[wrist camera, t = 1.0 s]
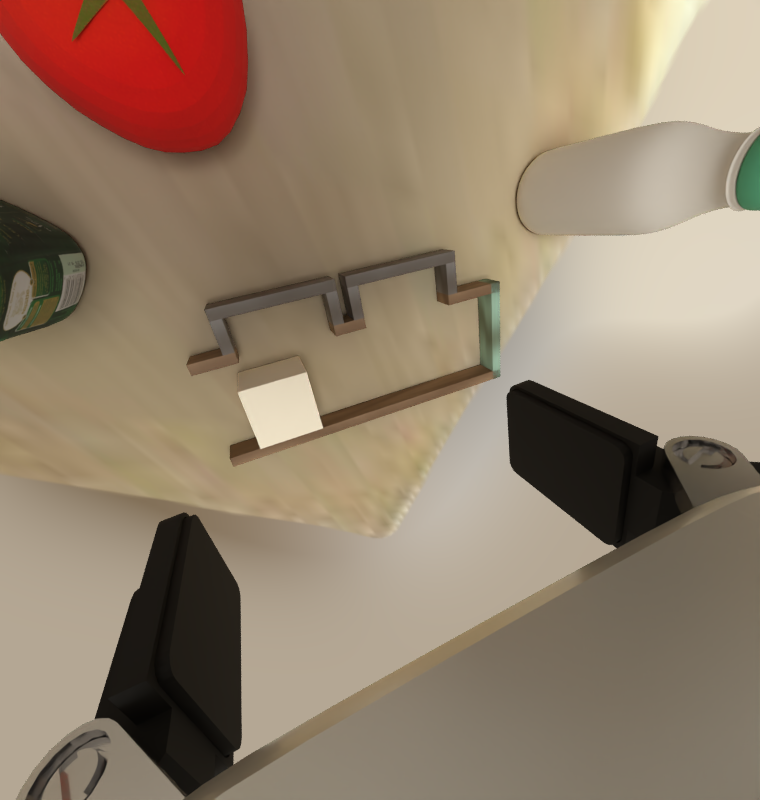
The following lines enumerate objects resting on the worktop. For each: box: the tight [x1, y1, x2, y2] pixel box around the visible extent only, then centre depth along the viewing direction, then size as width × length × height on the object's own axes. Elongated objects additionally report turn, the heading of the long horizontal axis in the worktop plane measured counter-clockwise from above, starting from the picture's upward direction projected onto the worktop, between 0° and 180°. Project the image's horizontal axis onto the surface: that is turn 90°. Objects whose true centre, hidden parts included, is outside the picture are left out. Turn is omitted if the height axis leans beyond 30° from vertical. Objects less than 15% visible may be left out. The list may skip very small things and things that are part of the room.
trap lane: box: [186, 250, 500, 467], centre depth 36 cm, size 15×31×2 cm, turn 101°
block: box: [238, 356, 323, 449], centre depth 34 cm, size 6×6×5 cm
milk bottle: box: [517, 121, 760, 235], centre depth 29 cm, size 8×8×20 cm
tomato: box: [0, 0, 248, 152], centre depth 20 cm, size 11×12×10 cm
